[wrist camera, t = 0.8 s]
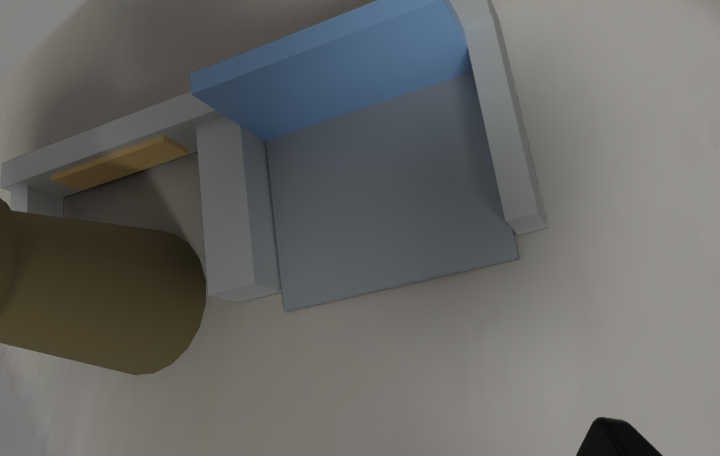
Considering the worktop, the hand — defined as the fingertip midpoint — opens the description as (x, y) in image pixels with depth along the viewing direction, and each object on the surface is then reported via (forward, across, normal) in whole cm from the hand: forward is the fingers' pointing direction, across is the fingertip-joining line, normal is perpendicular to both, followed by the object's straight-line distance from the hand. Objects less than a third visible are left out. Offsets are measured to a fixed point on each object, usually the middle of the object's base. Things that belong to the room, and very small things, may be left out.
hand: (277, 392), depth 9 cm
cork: (+16, +6, +12) cm, 21 cm away
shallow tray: (+17, +2, +7) cm, 18 cm away
